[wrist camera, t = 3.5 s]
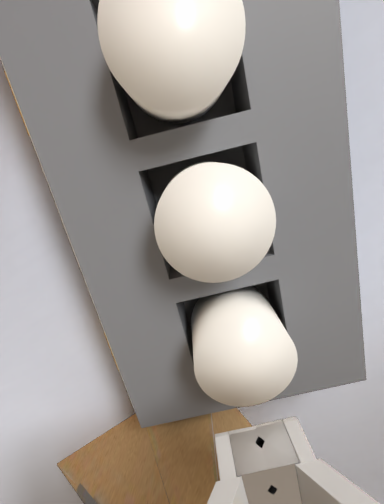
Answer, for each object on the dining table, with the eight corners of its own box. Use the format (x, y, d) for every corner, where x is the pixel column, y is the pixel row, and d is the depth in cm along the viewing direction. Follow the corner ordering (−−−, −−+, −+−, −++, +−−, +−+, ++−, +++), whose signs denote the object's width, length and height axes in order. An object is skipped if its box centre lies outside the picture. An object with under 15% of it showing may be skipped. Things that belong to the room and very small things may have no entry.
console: (289, -71, 14) (328, -153, 11) (333, 340, 22) (366, 379, 18) (7, 8, 15) (-53, -43, 11) (141, 383, 22) (132, 430, 18)
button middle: (243, 151, 15) (265, 148, 11) (259, 241, 17) (284, 268, 13) (150, 174, 16) (139, 180, 12) (174, 262, 17) (171, 294, 13)
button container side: (265, 273, 17) (290, 308, 13) (277, 344, 19) (303, 394, 15) (182, 293, 18) (182, 332, 14) (201, 361, 19) (206, 415, 15)
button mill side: (215, -11, 13) (229, -84, 9) (236, 109, 15) (256, 91, 11) (107, 19, 13) (75, -41, 9) (139, 134, 15) (123, 125, 11)
